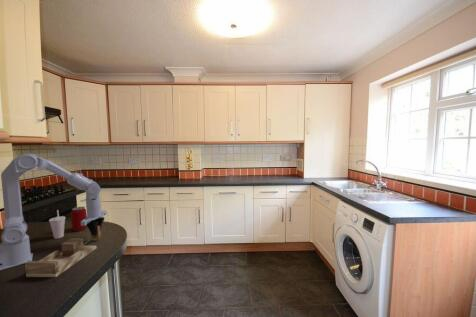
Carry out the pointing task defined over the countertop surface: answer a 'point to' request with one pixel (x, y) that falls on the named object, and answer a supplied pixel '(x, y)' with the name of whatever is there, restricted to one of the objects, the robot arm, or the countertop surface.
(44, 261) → the lane shelf
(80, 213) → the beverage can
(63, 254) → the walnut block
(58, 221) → the smoothie
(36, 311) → the countertop surface
